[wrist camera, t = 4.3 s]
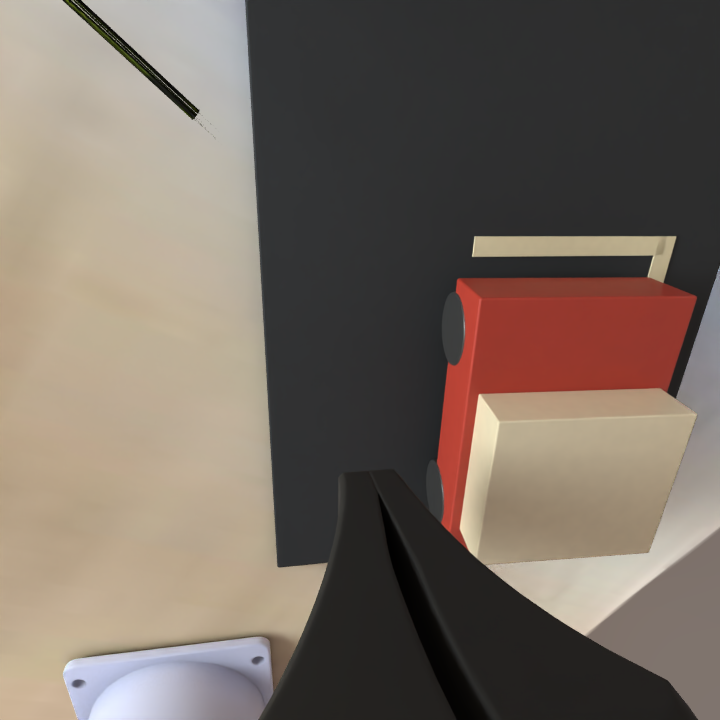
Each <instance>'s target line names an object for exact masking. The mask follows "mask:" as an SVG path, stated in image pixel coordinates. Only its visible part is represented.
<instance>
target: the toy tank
mask: <svg viewBox="0 0 720 720" xmlns="http://www.w3.org/2000/svg"><path fill="white" fill-rule="evenodd" d="M63 1H64V2H65V3H66V4H67V5H68V6H69V7H70V8H71V9H73V10H74V11H75V12H76V13H77V14H78V15H79V16H80V17H81V18H82V19H83V20H85V21H86V22H87V23H88V24H89V25H90V26H91V27H92V28H93V29H94V30H95V31H96V32H98V33H99V34H100V35H101V36H102V37H103V38H104V39H105V40H106V41H107V42H108V43H110V44H111V45H112V46H113V47H114V48H115V49H116V50H117V51H118V52H119V53H120V54H122V55H123V56H124V57H125V58H126V59H127V60H128V61H129V62H130V63H131V64H132V65H134V66H135V67H136V68H137V69H138V70H139V71H140V72H141V73H142V74H143V75H144V76H146V77H147V78H148V79H149V80H150V81H151V82H152V83H153V84H154V85H155V86H156V87H158V88H159V89H160V90H161V91H162V92H163V93H164V94H165V95H166V96H167V97H168V98H170V99H171V100H172V101H173V102H174V103H175V104H176V105H177V106H178V107H179V108H180V109H181V110H183V111H184V112H185V113H186V114H187V115H188V116H189V117H190V118H191V119H192V120H193V119H194V118H195V117H196V116H197V114H198V113H199V110H198V109H197V108H196V107H195V106H194V105H193V104H192V103H191V102H190V101H189V100H187V99H186V98H185V97H184V96H183V95H182V94H181V93H180V92H179V91H178V90H177V89H176V88H175V87H174V86H172V85H171V84H170V83H169V82H168V81H167V80H166V79H165V78H164V77H163V76H162V75H161V74H160V73H158V72H157V71H156V70H155V69H154V68H153V67H152V66H151V65H150V64H149V63H148V62H147V61H146V60H145V59H143V58H142V57H141V56H140V55H139V54H138V53H137V52H136V51H135V50H134V49H133V48H132V47H131V46H129V45H128V44H127V43H126V42H125V41H124V40H123V39H122V38H121V37H120V36H119V35H118V34H117V33H116V32H114V31H113V30H112V29H111V28H110V27H109V26H108V25H107V24H106V23H105V22H104V21H103V20H102V19H101V18H99V17H98V16H97V15H96V14H95V13H94V12H93V11H92V10H91V9H90V8H89V7H88V6H87V5H85V4H84V3H83V2H82V1H81V0H76V1H77V2H76V1H75V0H74V1H75V2H76V3H77V5H78V6H79V7H80V8H81V9H82V10H83V11H85V12H86V13H87V14H89V13H90V14H91V15H92V16H91V15H90V14H89V15H90V17H91V18H93V20H94V21H95V22H96V23H97V24H96V23H95V22H94V21H93V20H92V19H91V18H90V17H89V16H88V15H87V14H86V13H84V12H83V11H82V10H81V9H80V8H79V7H78V6H77V5H76V4H75V3H74V2H72V1H71V0H63ZM85 9H86V10H87V11H88V12H89V13H88V12H87V11H86V10H85ZM99 22H100V23H101V24H102V25H103V26H104V27H105V28H106V29H105V28H104V27H103V26H102V25H101V24H100V23H99ZM98 24H99V25H100V26H101V27H102V28H103V29H104V30H106V31H107V33H108V34H109V35H108V34H107V33H106V32H105V31H104V30H103V29H102V28H101V27H100V26H99V25H98ZM113 35H114V36H115V37H116V38H117V39H118V40H119V41H120V42H121V43H120V42H119V41H118V40H117V39H116V38H115V37H114V36H113ZM112 37H113V38H114V39H115V40H116V41H117V42H119V43H120V45H121V46H120V45H119V44H118V43H117V42H116V41H115V40H114V39H113V38H112ZM127 48H128V49H129V50H130V51H131V52H132V53H133V54H134V55H135V56H136V57H135V56H134V55H133V54H132V53H131V52H130V51H128V49H127ZM126 50H127V51H128V52H129V53H130V54H131V55H132V56H133V57H132V56H131V55H130V54H129V53H128V52H127V51H126ZM141 61H142V62H143V63H144V64H145V65H146V66H147V67H148V68H149V69H150V70H149V69H148V68H147V67H146V66H145V65H144V64H142V63H141ZM139 62H140V63H141V64H142V65H143V66H144V67H145V68H144V67H143V66H142V65H141V64H140V63H139ZM154 74H156V75H157V76H158V77H159V78H160V79H161V80H162V81H163V82H164V83H165V84H164V83H163V82H162V81H161V80H160V79H159V78H158V77H156V76H155V75H154ZM153 75H154V76H155V77H156V78H157V79H156V78H155V77H154V76H153ZM167 86H168V87H169V88H171V89H172V90H173V91H174V92H175V93H176V94H177V95H178V96H179V97H180V98H181V99H182V100H183V101H184V102H186V103H187V104H188V105H189V106H190V107H191V108H192V109H193V110H194V111H195V112H196V113H197V114H196V113H195V112H194V111H193V110H192V109H191V108H190V107H189V106H188V105H187V104H185V103H184V102H183V101H182V100H181V99H180V98H179V97H178V96H177V95H176V94H175V93H174V92H173V91H172V90H170V89H169V88H168V87H167ZM167 88H168V89H169V90H168V89H167ZM197 119H198V118H197ZM210 124H211V123H210ZM200 125H201V126H202V124H201V123H200ZM202 127H203V126H202ZM203 128H204V127H203ZM213 137H214V136H213ZM214 138H215V137H214Z"/></svg>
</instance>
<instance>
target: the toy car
mask: <svg viewBox="0 0 720 720" xmlns="http://www.w3.org/2000/svg"><path fill="white" fill-rule="evenodd" d="M696 300H697V297H696V296H695V295H692V294H690V293H687V292H685V291H682V290H680V289H677V288H675V287H672V286H670V285H667V284H665V283H662V282H660V281H657V280H655V279H652V278H650V277H616V278H459V279H458V280H457V286H456V291H454V292H452V293H450V294H449V295H448V297H447V299H446V302H445V305H444V309H443V316H442V341H443V347H444V352H445V355H446V358H447V360H448V368H447V377H446V386H445V395H444V404H443V413H442V422H441V431H440V440H439V449H438V459H432V460H431V461H430V462H429V464H428V467H427V474H426V490H427V499H428V505H429V510H430V512H431V513H432V514H433V515H434V516H435V517H436V518H437V519H438V521H439V522H440V523H441V524H442V525H443V526H444V527H445V528H446V529H447V530H448V531H449V532H450V533H451V534H452V535H453V536H454V537H455V538H456V539H457V540H458V541H459V542H460V543H461V544H462V545H463V546H464V547H465V548H466V549H467V550H468V551H469V552H471V553H472V554H473V555H474V556H475V557H476V558H477V559H478V560H479V561H480V562H482V563H483V564H484V565H489V564H503V563H516V562H530V561H544V560H557V559H571V558H584V557H598V556H611V555H625V554H638V553H648V552H649V550H650V548H651V545H652V542H653V539H654V536H655V533H656V531H657V528H658V525H659V522H660V519H661V517H662V514H663V511H664V508H665V505H666V503H667V500H668V497H669V494H670V491H671V489H672V486H673V483H674V480H675V477H676V475H677V472H678V469H679V466H680V463H681V460H682V458H683V455H684V452H685V449H686V446H687V444H688V441H689V438H690V435H691V432H692V430H693V427H694V424H695V421H696V418H697V413H695V412H694V411H692V410H691V409H689V408H688V407H687V406H685V405H684V404H682V403H681V402H679V401H678V400H676V399H675V398H674V397H672V396H671V395H669V394H668V393H667V391H668V388H669V385H670V381H671V378H672V375H673V372H674V369H675V366H676V363H677V360H678V356H679V353H680V350H681V347H682V344H683V341H684V338H685V334H686V331H687V328H688V325H689V322H690V319H691V316H692V313H693V309H694V306H695V303H696Z"/></svg>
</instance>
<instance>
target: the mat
mask: <svg viewBox="0 0 720 720" xmlns="http://www.w3.org/2000/svg"><path fill="white" fill-rule="evenodd" d="M245 3H246V20H247V38H248V56H249V73H250V91H251V108H252V126H253V144H254V161H255V179H256V196H257V214H258V232H259V249H260V267H261V284H262V302H263V320H264V337H265V355H266V372H267V390H268V408H269V425H270V443H271V460H272V478H273V496H274V513H275V531H276V548H277V566H278V567H289V566H299V565H308V564H318V563H328V561H329V557H330V553H331V549H332V546H333V542H334V537H335V532H336V527H337V521H338V477H339V476H340V475H341V474H342V473H346V472H359V471H372V470H385V469H394V470H395V471H396V472H397V473H398V474H399V475H400V477H401V478H402V479H403V480H404V481H405V483H406V484H407V485H408V486H409V488H410V489H411V490H412V491H413V492H414V494H415V495H416V496H417V497H418V498H419V499H420V501H421V502H422V503H423V504H424V505H425V506H426V508H427V509H428V510H429V505H428V499H427V490H426V474H427V467H428V464H429V462H430V461H431V460H432V459H438V449H439V440H440V431H441V422H442V413H443V404H444V395H445V386H446V377H447V368H448V360H447V358H446V355H445V352H444V347H443V341H442V316H443V309H444V305H445V302H446V299H447V297H448V295H449V294H450V293H452V292H454V291H456V286H457V280H458V279H459V278H616V277H650V278H652V279H655V280H657V281H660V282H662V283H665V284H667V285H670V286H672V287H675V288H677V289H680V290H682V291H685V292H687V293H690V294H692V295H695V296H696V297H697V300H696V303H695V306H694V309H693V313H692V316H691V319H690V322H689V325H688V328H687V331H686V334H685V338H684V341H683V344H682V347H681V350H680V353H679V356H678V360H677V363H676V366H675V369H674V372H673V375H672V378H671V381H670V385H669V388H668V391H667V393H668V394H669V395H671V396H672V397H674V398H675V399H676V396H677V393H678V390H679V387H680V384H681V381H682V378H683V375H684V372H685V369H686V366H687V363H688V360H689V357H690V354H691V351H692V348H693V345H694V342H695V339H696V336H697V333H698V330H699V326H700V323H701V320H702V317H703V314H704V311H705V308H706V305H707V302H708V299H709V296H710V293H711V290H712V287H713V284H714V281H715V278H716V275H717V272H718V269H719V266H720V0H245ZM429 511H430V510H429Z"/></svg>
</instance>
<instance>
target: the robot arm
mask: <svg viewBox="0 0 720 720" xmlns="http://www.w3.org/2000/svg"><path fill="white" fill-rule="evenodd" d="M63 677H64V680H65V683H66V686H67V689H68V692H69V695H70V698H71V701H72V704H73V706H74V709H75V712H76V715H77V718H78V720H698V719H697V718H696V716H695V715H694V713H693V712H692V711H691V709H690V708H689V706H688V705H687V704H686V703H685V701H684V700H683V699H682V698H681V696H680V695H679V694H678V693H677V691H676V690H675V689H674V688H673V686H672V685H671V684H670V683H669V682H668V681H667V680H666V679H664V678H662V677H660V676H658V675H656V674H654V673H652V672H650V671H648V670H646V669H644V668H643V667H641V666H639V665H637V664H635V663H633V662H631V661H629V660H627V659H625V658H623V657H621V656H619V655H617V654H616V653H613V652H612V651H609V650H608V649H606V648H604V647H603V646H601V645H599V644H598V643H596V642H594V641H592V640H591V639H589V638H587V637H586V636H584V635H582V634H581V633H579V632H577V631H576V630H574V629H572V628H571V627H569V626H567V625H566V624H564V623H563V622H561V621H560V620H558V619H556V618H555V617H553V616H552V615H550V614H549V613H548V612H546V611H545V610H543V609H542V608H540V607H539V606H537V605H536V604H534V603H533V602H532V601H530V600H529V599H527V598H526V597H524V596H523V595H522V594H520V593H519V592H517V591H516V590H515V589H513V588H512V587H511V586H509V585H508V584H507V583H506V582H504V581H503V580H502V579H501V578H499V577H498V576H497V575H496V574H495V573H493V572H492V571H491V570H490V569H488V568H487V567H486V566H485V565H484V564H483V563H482V562H480V561H479V560H478V559H477V558H476V557H475V556H474V555H473V554H472V553H471V552H469V551H468V550H467V549H466V548H465V547H464V546H463V545H462V544H461V543H460V542H459V541H458V540H457V539H456V538H455V537H454V536H453V535H452V534H451V533H450V532H449V531H448V530H447V529H446V528H445V527H444V526H443V525H442V524H441V523H440V522H439V521H438V519H437V518H436V517H435V516H434V515H433V514H432V513H431V512H430V511H429V510H428V509H427V508H426V506H425V505H424V504H423V503H422V502H421V501H420V499H419V498H418V497H417V496H416V495H415V494H414V492H413V491H412V490H411V489H410V488H409V486H408V485H407V484H406V483H405V481H404V480H403V479H402V478H401V477H400V475H399V474H398V473H397V472H396V471H395V470H394V469H385V470H372V471H359V472H346V473H342V474H341V475H340V476H339V477H338V521H337V527H336V532H335V537H334V542H333V546H332V549H331V553H330V557H329V561H328V564H327V568H326V571H325V575H324V578H323V581H322V584H321V587H320V590H319V593H318V595H317V598H316V601H315V604H314V606H313V609H312V611H311V614H310V616H309V619H308V621H307V624H306V626H305V629H304V631H303V633H302V636H301V638H300V640H299V642H298V645H297V647H296V649H295V651H294V653H293V655H292V657H291V659H290V661H289V663H288V665H287V667H286V669H285V671H284V673H283V675H282V677H281V679H280V681H279V683H278V685H277V687H276V689H275V691H274V692H273V678H272V664H271V650H270V642H269V640H268V639H267V638H265V637H250V638H241V639H233V640H225V641H217V642H208V643H200V644H192V645H184V646H175V647H167V648H159V649H151V650H142V651H134V652H126V653H118V654H110V655H101V656H93V657H85V658H77V659H73V660H71V661H70V662H68V663H67V665H66V667H65V669H64V672H63Z"/></svg>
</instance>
